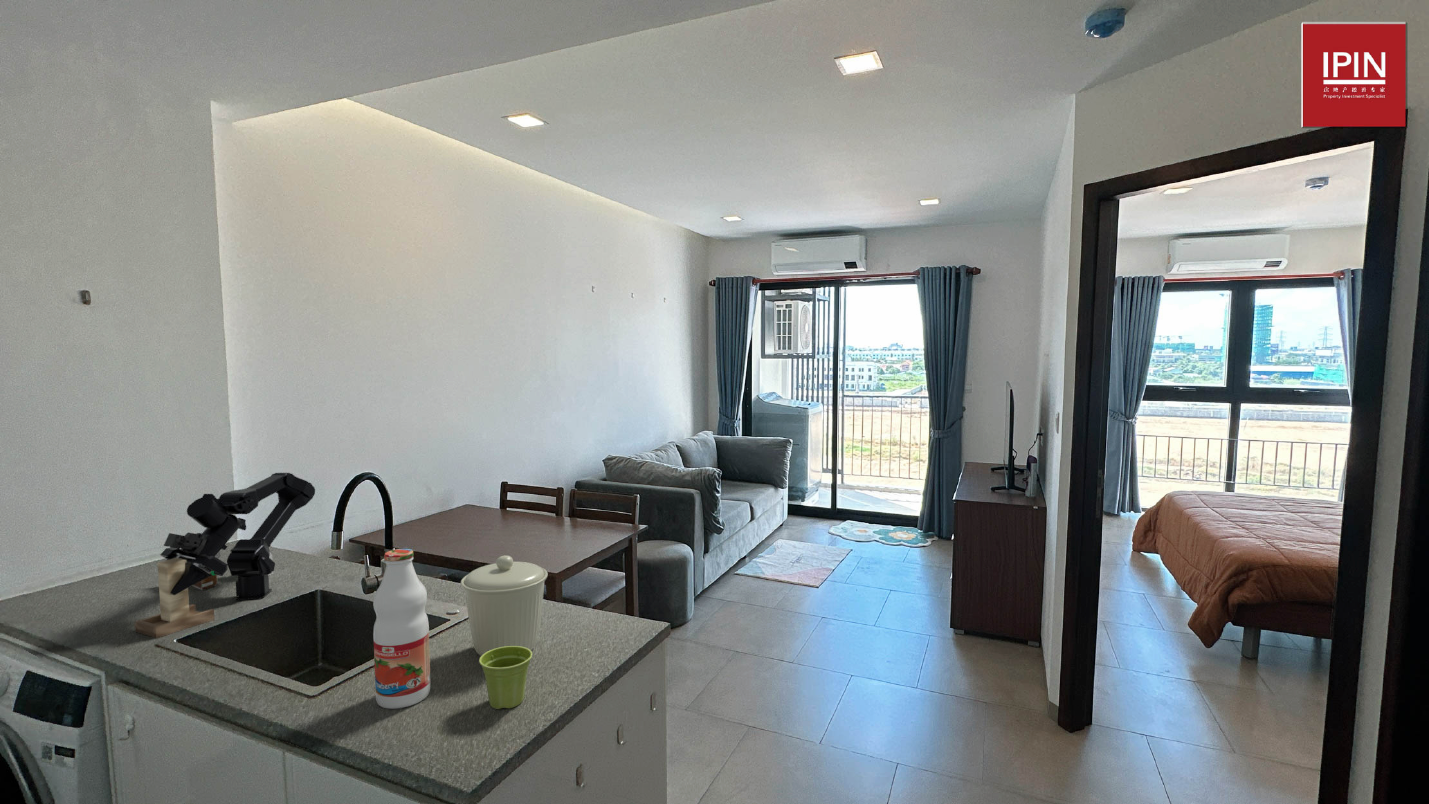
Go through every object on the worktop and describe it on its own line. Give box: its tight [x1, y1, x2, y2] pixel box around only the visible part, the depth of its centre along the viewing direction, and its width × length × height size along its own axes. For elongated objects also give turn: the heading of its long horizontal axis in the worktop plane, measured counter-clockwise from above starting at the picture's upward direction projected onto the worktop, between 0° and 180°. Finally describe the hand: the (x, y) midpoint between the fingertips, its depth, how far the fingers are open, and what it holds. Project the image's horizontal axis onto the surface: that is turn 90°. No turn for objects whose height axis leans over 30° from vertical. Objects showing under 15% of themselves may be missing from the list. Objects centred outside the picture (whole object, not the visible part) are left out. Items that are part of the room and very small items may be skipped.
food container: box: [191, 550, 222, 591], centre depth 187 cm, size 12×6×10 cm, turn 58°
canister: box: [460, 555, 548, 657], centre depth 143 cm, size 18×18×21 cm
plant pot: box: [478, 646, 533, 710], centre depth 121 cm, size 9×9×9 cm
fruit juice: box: [372, 548, 431, 710], centre depth 123 cm, size 9×9×28 cm
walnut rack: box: [134, 604, 215, 639], centre depth 158 cm, size 12×9×2 cm
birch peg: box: [157, 558, 190, 622], centre depth 157 cm, size 4×4×14 cm
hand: (167, 592), depth 156 cm, fingers closed on birch peg, 4 cm apart
